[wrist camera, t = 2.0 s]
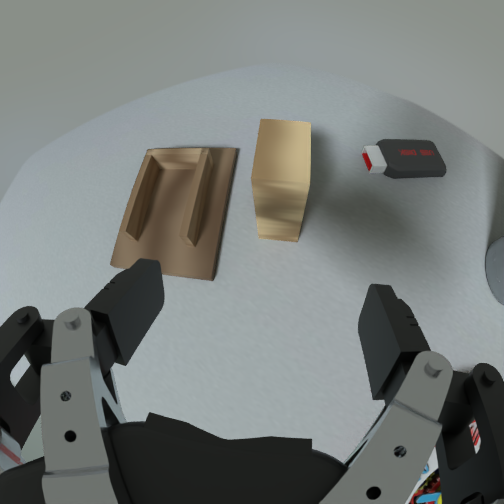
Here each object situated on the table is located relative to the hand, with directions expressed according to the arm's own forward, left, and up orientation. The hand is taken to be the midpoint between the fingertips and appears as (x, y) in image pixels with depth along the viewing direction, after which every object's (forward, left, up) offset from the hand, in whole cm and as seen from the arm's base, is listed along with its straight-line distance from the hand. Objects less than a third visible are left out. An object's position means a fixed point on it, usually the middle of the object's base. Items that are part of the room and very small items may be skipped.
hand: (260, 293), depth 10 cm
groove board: (+12, -12, -17) cm, 23 cm away
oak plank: (0, -12, -17) cm, 20 cm away
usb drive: (-16, -22, -17) cm, 32 cm away
